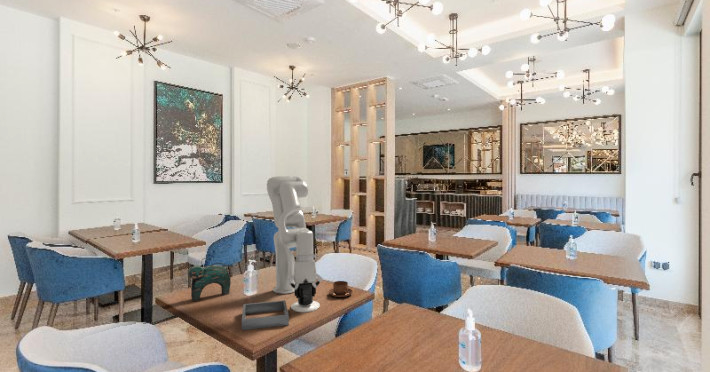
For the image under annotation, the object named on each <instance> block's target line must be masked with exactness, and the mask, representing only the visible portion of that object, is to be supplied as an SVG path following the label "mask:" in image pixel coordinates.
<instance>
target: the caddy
mask: <svg viewBox="0 0 710 372" xmlns="http://www.w3.org/2000/svg"><path fill="white" fill-rule="evenodd" d="M287 306H288V305H287V301H286V300H285V299H284V300H274V301H264V302H253V303H243V306H242V315H241V330H242V331H248V330H257V329H266V328H274V327H283V326H285V327H286V326H289V325H290V324H289V323H290V321H289V320H290V319H289V317H290V314H289V311H288V307H287ZM276 311H277V312H279V311H283V314H281V315H280V314H279V315H271V316H270V315H269V316H260V317H259V316H258V317H250V318H249V317H248V318H246V316H247V314H248V315H250V314H257V313H258V314H259V313H268V312H276Z"/></svg>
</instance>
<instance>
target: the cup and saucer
mask: <svg viewBox="0 0 710 372" xmlns="http://www.w3.org/2000/svg"><path fill="white" fill-rule="evenodd" d="M348 285H349V282H348V281H345V280H337V281H334V282H333V283H332V287H333V288H331V289H329V290H328V294H329V295H330V296H332V297H335V298H345V297H348V296H351V295H352V294H353V290H352V289H351V288H349V286H348ZM333 293H335V294H336V295H333ZM346 293H349V294H347V295H345V294H346Z"/></svg>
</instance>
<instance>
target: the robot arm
mask: <svg viewBox="0 0 710 372" xmlns="http://www.w3.org/2000/svg"><path fill="white" fill-rule="evenodd" d="M266 190H267V195H268V197H269V200H270V202H271V206H272V212H273V220H274V221H273V222H274V225H275V226H276V228H277V229H278V230H277V231H276V232H275V233H274V234H273V242H274V243H273V244H274V250H275V251H274V252H275V286H274V287H273V289H272V292H273V293H275V294H283V295H285V294H291V293H294V297H296V299H298V285H299V284H302V283H303V282H304V280H305V279H306V280H307V281H308V282H307V283H312V284H313V298H314V297H315V295H316V294H317V287H318V286H319V285H320V284H321V282H322V281H323V279H324V278H323V277H322V276H321V275H320V274H318V273H317V267H316V262H315V261H316V260H315V258H317V254H316V253H315V254H314V232H313V231H312V230H310V229H309V228H307V224H306V220H305V214H304V212H303V211H302V206H301V202H300V199H301V198H306V197H307V196H308V194H309V187H308V185H307V183H306V181H305V180H303V179H302V178H301V177H299V176H289V175H288V176H282V175H281V176H271V177H270V178H268V179H267V182H266ZM293 248H296V260H295V255H294V253H293V252H292V251H291V249H293Z"/></svg>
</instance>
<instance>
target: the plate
mask: <svg viewBox="0 0 710 372" xmlns="http://www.w3.org/2000/svg"><path fill="white" fill-rule="evenodd" d="M319 307H321V305H320V302H318V301H315V300H313V303H312V304H310V305H299V304H298V301H295V302H293V303H292V304H291V305H290V309H291V310H292V311H293V312H296V313H302V314H303V313H311V311H312V312H315V311H317V310H319V309H320V308H319ZM318 308H319V309H318Z"/></svg>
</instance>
